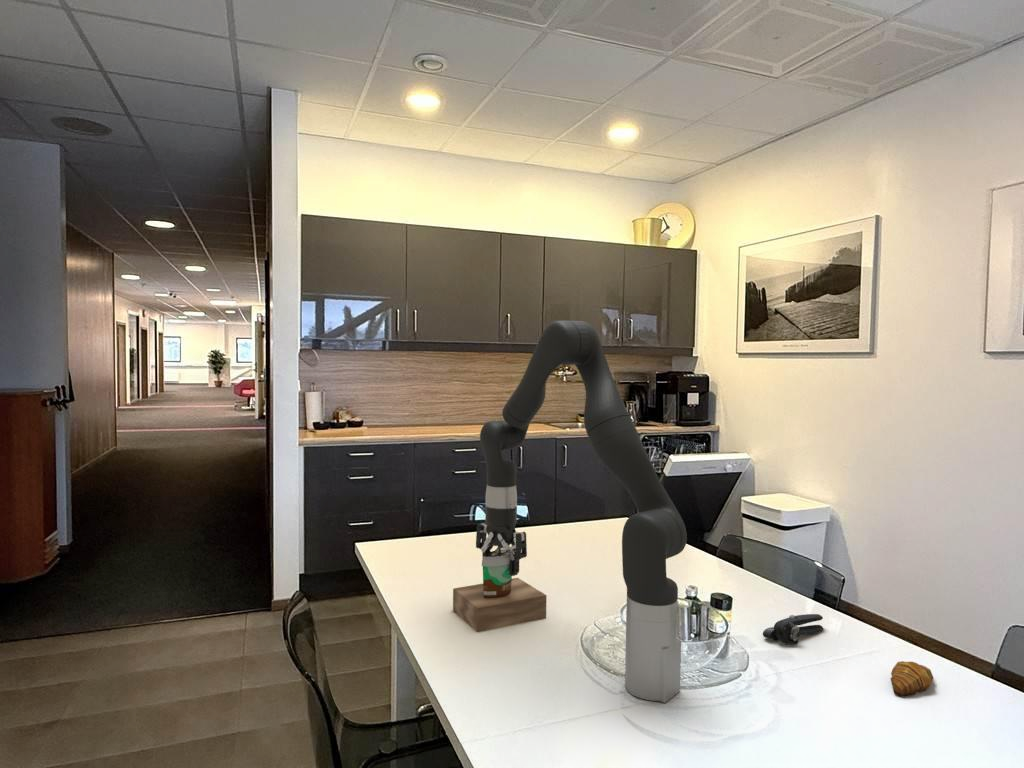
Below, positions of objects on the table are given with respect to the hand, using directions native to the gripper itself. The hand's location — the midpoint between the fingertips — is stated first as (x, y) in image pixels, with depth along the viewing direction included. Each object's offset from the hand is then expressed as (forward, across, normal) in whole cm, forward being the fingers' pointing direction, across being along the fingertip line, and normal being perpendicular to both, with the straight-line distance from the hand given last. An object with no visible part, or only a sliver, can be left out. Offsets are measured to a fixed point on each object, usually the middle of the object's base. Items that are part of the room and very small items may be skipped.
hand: (500, 571), depth 150 cm
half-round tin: (+5, +1, 0) cm, 5 cm away
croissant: (+12, +80, +28) cm, 86 cm away
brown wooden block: (+11, 0, 0) cm, 11 cm away
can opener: (+11, +57, +36) cm, 69 cm away
